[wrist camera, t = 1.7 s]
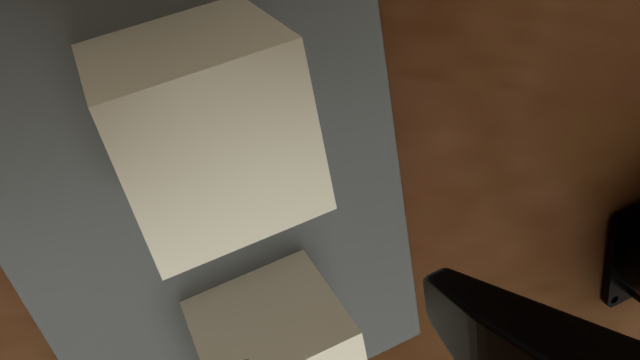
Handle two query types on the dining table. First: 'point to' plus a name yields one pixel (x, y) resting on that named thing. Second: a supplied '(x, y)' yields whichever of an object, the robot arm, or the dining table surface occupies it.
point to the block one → (273, 317)
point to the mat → (118, 218)
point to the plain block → (208, 129)
